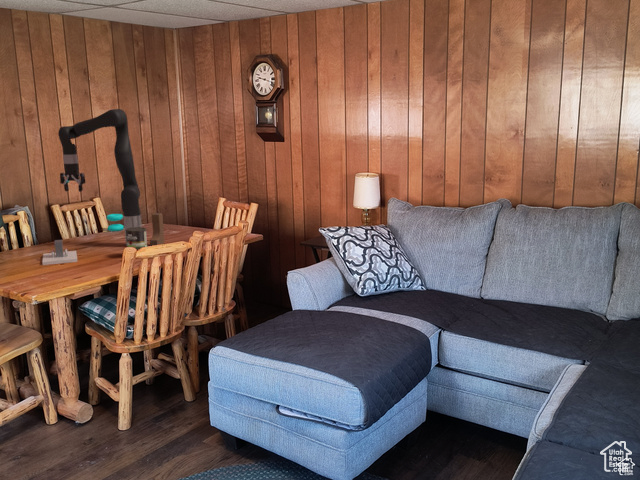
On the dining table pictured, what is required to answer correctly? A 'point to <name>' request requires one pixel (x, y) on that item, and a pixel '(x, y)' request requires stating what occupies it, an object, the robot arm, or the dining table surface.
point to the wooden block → (157, 229)
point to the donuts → (115, 218)
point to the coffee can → (136, 237)
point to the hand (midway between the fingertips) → (73, 191)
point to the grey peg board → (51, 257)
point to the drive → (59, 248)
